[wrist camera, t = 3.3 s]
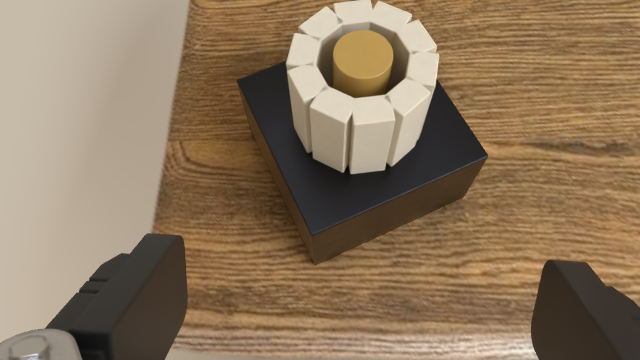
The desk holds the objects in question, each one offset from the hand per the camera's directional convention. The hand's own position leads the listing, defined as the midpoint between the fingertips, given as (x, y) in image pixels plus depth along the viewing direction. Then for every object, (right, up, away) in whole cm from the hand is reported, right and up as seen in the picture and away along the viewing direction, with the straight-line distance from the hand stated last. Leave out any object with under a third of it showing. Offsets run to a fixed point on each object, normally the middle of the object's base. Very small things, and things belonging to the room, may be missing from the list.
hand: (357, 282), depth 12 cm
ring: (+1, +5, +14) cm, 15 cm away
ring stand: (+1, +3, +18) cm, 18 cm away
